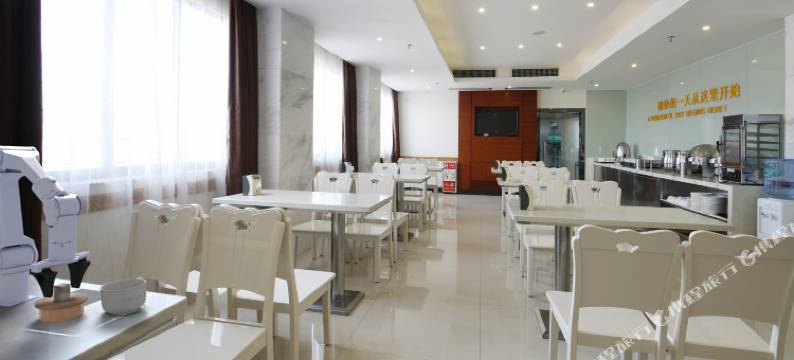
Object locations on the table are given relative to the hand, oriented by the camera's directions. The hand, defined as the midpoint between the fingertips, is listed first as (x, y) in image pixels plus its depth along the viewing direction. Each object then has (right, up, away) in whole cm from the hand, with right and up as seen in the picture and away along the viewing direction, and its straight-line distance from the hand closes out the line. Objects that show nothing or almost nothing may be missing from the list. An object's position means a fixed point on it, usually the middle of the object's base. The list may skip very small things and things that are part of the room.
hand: (62, 292), depth 110 cm
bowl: (0, -7, 0) cm, 7 cm away
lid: (0, -3, 0) cm, 3 cm away
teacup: (+12, -7, +8) cm, 16 cm away
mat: (-5, -6, +13) cm, 15 cm away
